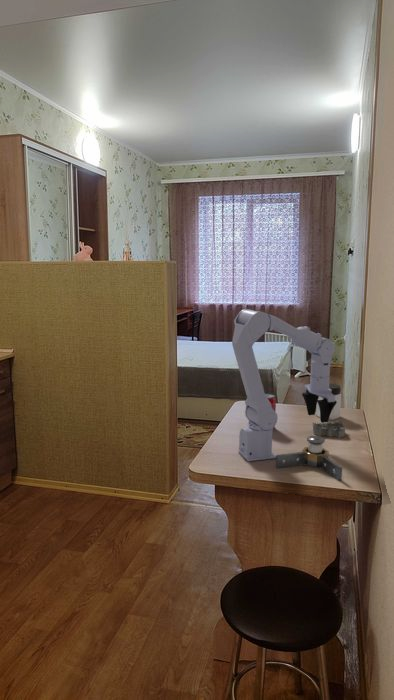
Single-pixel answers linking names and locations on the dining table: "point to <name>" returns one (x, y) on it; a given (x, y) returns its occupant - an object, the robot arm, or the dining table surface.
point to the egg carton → (329, 429)
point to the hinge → (310, 461)
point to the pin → (315, 444)
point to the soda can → (272, 401)
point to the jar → (335, 391)
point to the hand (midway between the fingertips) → (317, 418)
